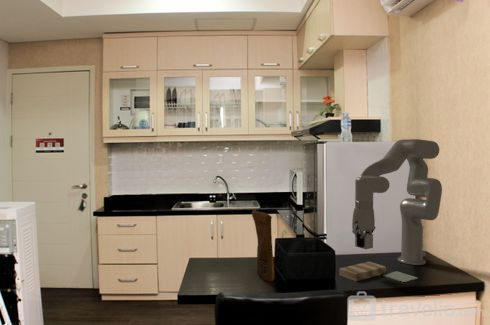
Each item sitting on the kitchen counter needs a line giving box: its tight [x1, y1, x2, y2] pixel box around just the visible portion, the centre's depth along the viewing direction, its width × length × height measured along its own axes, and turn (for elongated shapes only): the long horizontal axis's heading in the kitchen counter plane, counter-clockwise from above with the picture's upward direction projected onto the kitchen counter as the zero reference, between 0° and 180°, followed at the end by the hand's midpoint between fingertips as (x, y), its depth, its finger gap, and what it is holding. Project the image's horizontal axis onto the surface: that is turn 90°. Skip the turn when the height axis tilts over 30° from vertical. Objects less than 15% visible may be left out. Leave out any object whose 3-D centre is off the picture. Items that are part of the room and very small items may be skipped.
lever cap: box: [354, 231, 374, 250], centre depth 157 cm, size 4×6×6 cm
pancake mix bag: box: [251, 209, 275, 283], centre depth 154 cm, size 7×19×28 cm, turn 15°
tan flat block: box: [338, 261, 387, 282], centre depth 157 cm, size 20×9×3 cm, turn 123°
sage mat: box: [382, 270, 419, 283], centre depth 154 cm, size 10×10×1 cm
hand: (364, 245), depth 157 cm, fingers closed on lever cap, 4 cm apart
